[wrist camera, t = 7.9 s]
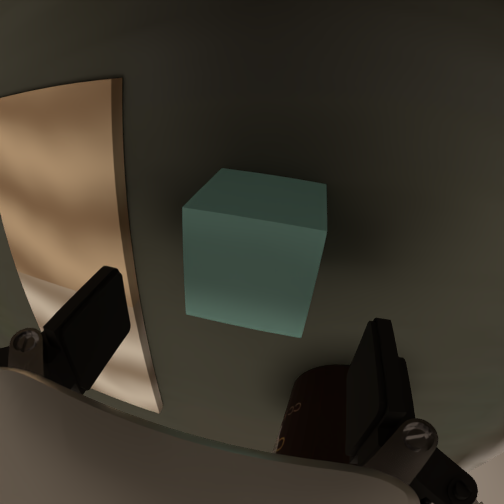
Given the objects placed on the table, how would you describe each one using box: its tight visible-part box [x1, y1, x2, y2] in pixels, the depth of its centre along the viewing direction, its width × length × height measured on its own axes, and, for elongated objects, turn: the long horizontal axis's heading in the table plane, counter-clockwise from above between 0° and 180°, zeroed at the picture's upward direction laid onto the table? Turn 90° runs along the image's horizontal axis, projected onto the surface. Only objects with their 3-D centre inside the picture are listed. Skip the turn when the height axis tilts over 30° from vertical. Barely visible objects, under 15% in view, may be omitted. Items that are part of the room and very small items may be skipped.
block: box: [182, 168, 327, 338], centre depth 14 cm, size 5×5×5 cm
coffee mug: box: [272, 365, 358, 466], centre depth 19 cm, size 12×9×10 cm
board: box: [0, 78, 163, 414], centre depth 21 cm, size 28×12×1 cm, turn 175°
